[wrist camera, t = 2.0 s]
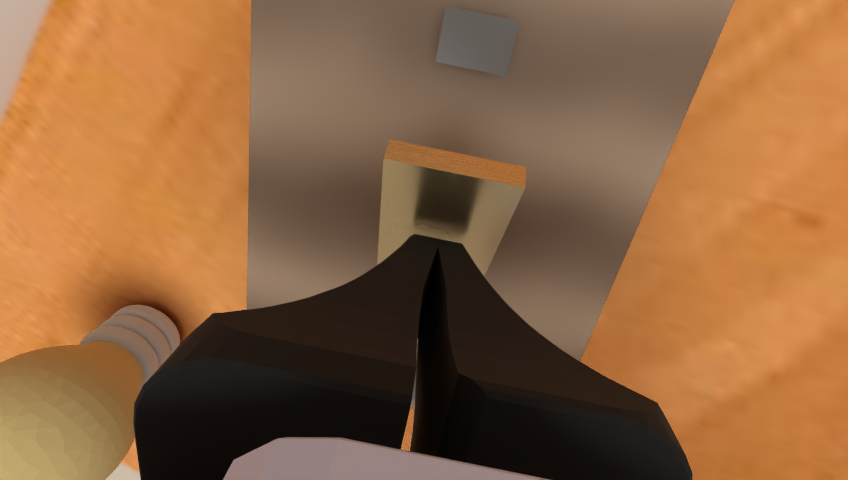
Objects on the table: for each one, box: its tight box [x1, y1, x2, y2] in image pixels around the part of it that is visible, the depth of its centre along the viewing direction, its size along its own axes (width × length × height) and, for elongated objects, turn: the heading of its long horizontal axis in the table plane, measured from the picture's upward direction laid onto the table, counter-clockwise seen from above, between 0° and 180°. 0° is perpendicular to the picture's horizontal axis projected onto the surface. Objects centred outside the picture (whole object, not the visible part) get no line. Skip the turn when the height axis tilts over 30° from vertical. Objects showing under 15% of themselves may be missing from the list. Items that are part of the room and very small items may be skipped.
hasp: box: [377, 139, 526, 359], centre depth 14 cm, size 11×3×1 cm
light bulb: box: [0, 305, 180, 480], centre depth 20 cm, size 6×6×10 cm
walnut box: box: [247, 0, 735, 409], centre depth 17 cm, size 18×14×6 cm
